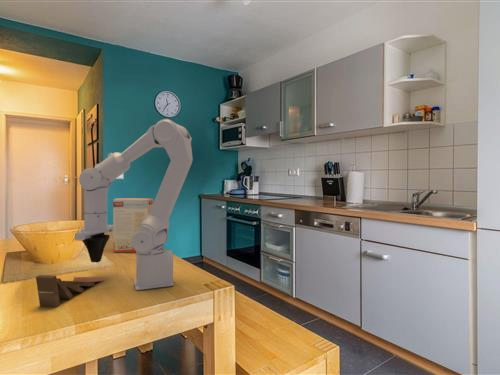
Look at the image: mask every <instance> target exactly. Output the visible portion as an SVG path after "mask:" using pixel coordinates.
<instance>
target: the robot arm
mask: <svg viewBox="0 0 500 375" xmlns="http://www.w3.org/2000/svg"><path fill="white" fill-rule="evenodd" d="M192 139H193V138H192V137H191V134H190V133H189V131H188V130H187V128H186V127H185V126H183V125H180V124H177V123H176V122H174V121H173V120H171V119H168V118H163V119H160V120H159V121H157V122H156V123H155V124H153V125H151V126H150V127H149V128H148V129H147V131H146V132H145V133H144V134H143V135H141V136H140V137H139V138H138V139H136V140H135V141H134V142H133V143H132V144H130V145H129V146H128V147H127V148H126V149H124V151H122V152H117V151H116V152H115V151H114V152H113V153H112V152H110V153H108V154H107V157H106V158H105V159H104V160H102V161H101V162H100V163H96V164H95V165H94V167H93V168H90V167H89V168H84V170H83V171H82V172H81V173H80V174H79V178H78V182H79V185H80V187H81V188H82V189H83V217H84V218H83V222H84V224H83V226H84V227H82V228H80V231H77V232H74V241H81V242H83V244H84V246H85V248H86V249H87V252H88V256H89V259H90V262H91V263H100V262H101V261H102V258H103V254H104V250H105V247H106V245H107V243H108V241H109V239H110V234H107V233H113V231H114V225H113V224H108V194H109V188H110V187H111V186H112V183H113V182H114V181H115V180H117V178H118V177H121V175H123V174H124V173H126V172H128V170H130V167H131V163H132V162H134V161H135V160H137V159H139V158H140V157H141V156H144V155H145V154H146V153H148V152H150V151H151V150H152V149H154V148H163V149H164V150H165V151H166V154H167V157H169V159H170V161H169V164H168V167H167V169H166V172H165V174H164V177H163V179H162V181H161V184H160V186H159V189H158V192H157V194H156V196H155V198H154V200H153V206H152V208H151V211H150V213H149V215H148V216H147V218H146V219H145V220H144V221H143V222H142V223H141V225H140V228H139V229H138V230H137V231H136V232H135V233H134V234H133V236H132V239H131V243H132V246H133V248H134V250H135V251H136V253H135V256H136V259H135V261H136V263H135V264H136V266H135V267H136V271H135V272H136V274H135V276H136V278H135V279H133V283H134V284H133V285H134V289H135V291H142V290H143V291H144V290H149V289H157V288H165V287H172V286H174V255H173V251H172V250H171V249H168V250H166V249H165V245H166V243H167V242H168V240H169V228H170V222H169V220H170V217H171V214H172V212H173V210H174V208H175V205H176V202H177V200H178V198H179V195H180V193H181V190H182V188H183V185H184V183H185V180H186V178H187V176H188V174H189V171H190V168H191V166H192V163H193V159H194V158H193V151H192V150H193V149H192Z"/></svg>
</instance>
